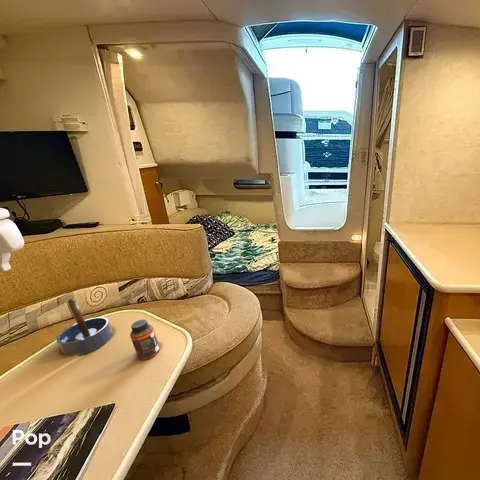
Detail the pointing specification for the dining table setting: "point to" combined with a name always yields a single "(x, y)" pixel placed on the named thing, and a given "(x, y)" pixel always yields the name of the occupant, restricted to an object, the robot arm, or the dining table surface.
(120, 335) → the dining table surface
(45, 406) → the dining table surface
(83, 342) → the ring
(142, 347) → the supplement bottle
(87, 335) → the peg on round base
